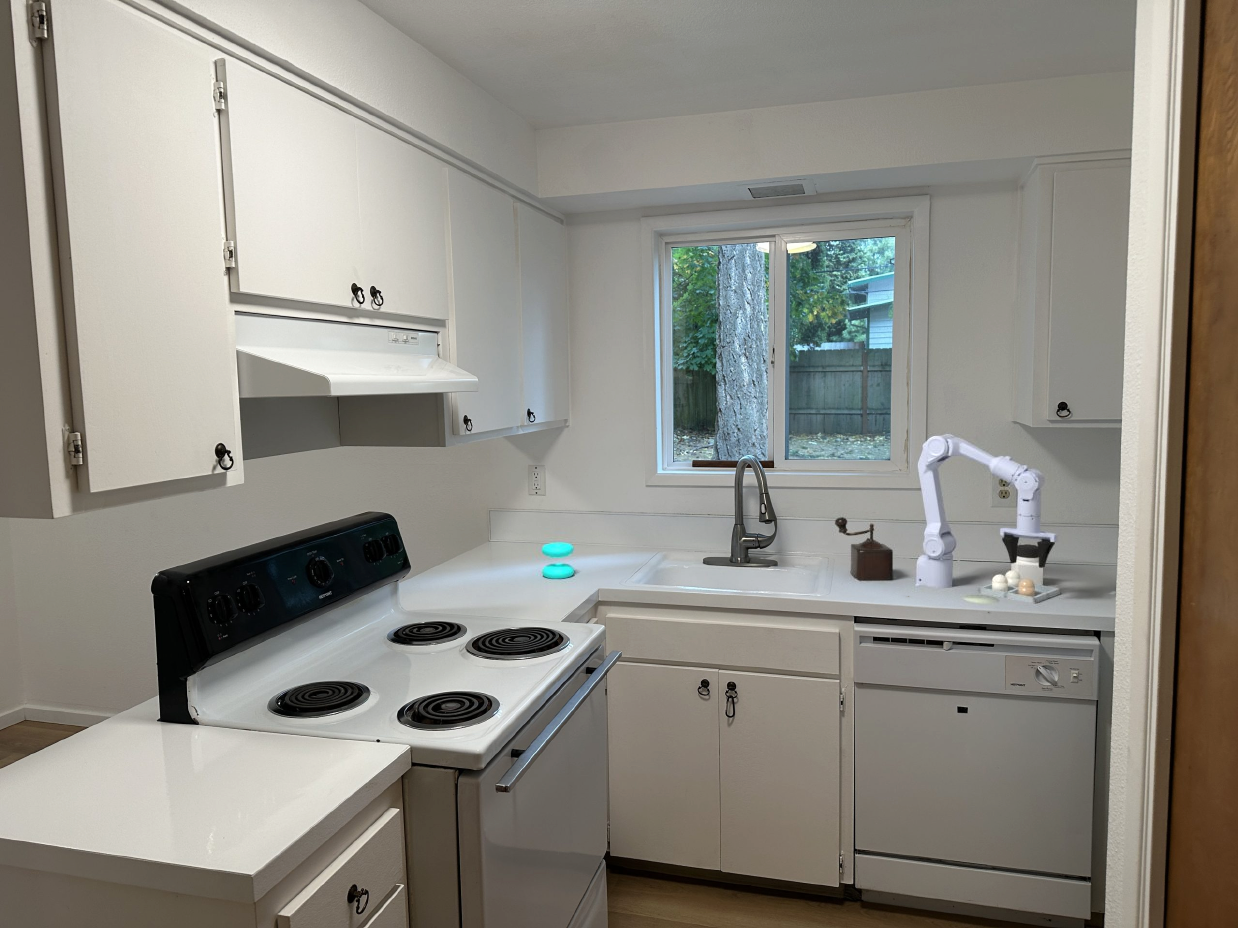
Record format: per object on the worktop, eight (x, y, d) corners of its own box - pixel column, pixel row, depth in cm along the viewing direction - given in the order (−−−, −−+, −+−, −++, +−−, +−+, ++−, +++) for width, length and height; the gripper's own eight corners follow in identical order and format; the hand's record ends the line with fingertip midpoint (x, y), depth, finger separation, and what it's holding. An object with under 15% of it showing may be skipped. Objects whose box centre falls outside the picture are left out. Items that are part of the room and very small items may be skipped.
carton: (978, 595, 240) (978, 587, 240) (1005, 586, 250) (1005, 578, 250) (1034, 606, 229) (1034, 598, 228) (1060, 596, 238) (1060, 588, 238)
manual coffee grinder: (882, 572, 271) (883, 515, 269) (893, 580, 260) (894, 521, 258) (832, 573, 271) (833, 516, 269) (841, 581, 260) (842, 522, 258)
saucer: (956, 601, 234) (956, 598, 234) (973, 595, 240) (973, 593, 240) (988, 607, 228) (988, 604, 227) (1005, 601, 233) (1005, 599, 233)
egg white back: (1002, 588, 245) (1002, 570, 244) (1008, 586, 247) (1009, 568, 247) (1016, 590, 242) (1016, 572, 241) (1022, 588, 244) (1023, 570, 244)
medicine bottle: (1043, 589, 247) (1044, 547, 245) (1016, 588, 248) (1017, 547, 247) (1036, 583, 253) (1037, 542, 252) (1010, 582, 255) (1011, 542, 254)
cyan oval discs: (556, 540, 279) (580, 543, 273) (557, 571, 280) (580, 575, 274) (535, 545, 272) (558, 549, 265) (535, 576, 272) (559, 581, 266)
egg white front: (989, 592, 240) (989, 574, 240) (996, 590, 243) (996, 572, 242) (1003, 595, 237) (1003, 576, 236) (1010, 592, 240) (1010, 574, 239)
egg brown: (1015, 597, 234) (1016, 578, 234) (1022, 595, 237) (1023, 576, 236) (1030, 600, 231) (1030, 581, 231) (1037, 597, 234) (1037, 578, 233)
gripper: (1063, 516, 229) (1061, 566, 230) (1009, 510, 240) (1008, 558, 241) (1051, 519, 224) (1049, 570, 226) (996, 513, 236) (995, 562, 237)
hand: (1027, 564), depth 233 cm, fingers open, 7 cm apart
